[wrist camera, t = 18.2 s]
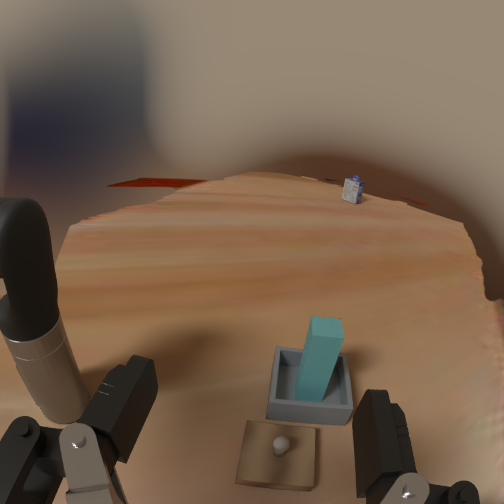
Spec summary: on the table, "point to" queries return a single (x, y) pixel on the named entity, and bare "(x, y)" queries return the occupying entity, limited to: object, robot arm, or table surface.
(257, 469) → the walnut stud block
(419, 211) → the table surface
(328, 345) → the teal strut
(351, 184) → the ink cartridge box
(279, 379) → the charcoal bin
